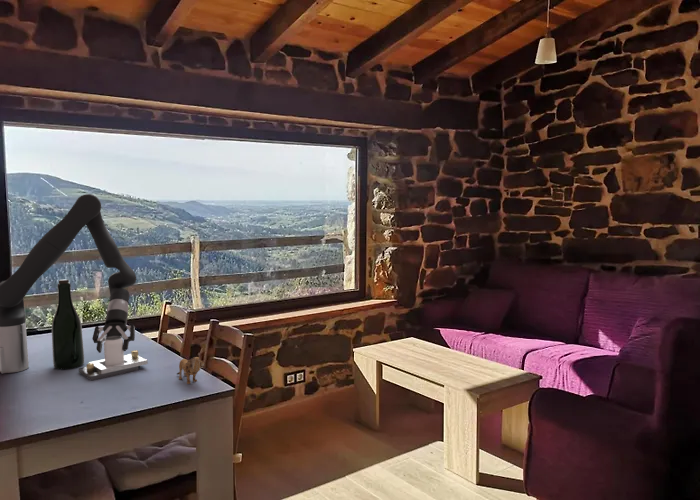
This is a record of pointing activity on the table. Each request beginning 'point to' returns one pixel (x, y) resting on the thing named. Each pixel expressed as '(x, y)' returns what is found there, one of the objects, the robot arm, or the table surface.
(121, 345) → the can
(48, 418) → the table surface
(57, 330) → the green wine bottle
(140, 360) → the upper link
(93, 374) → the lower link
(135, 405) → the table surface
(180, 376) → the lion figurine
